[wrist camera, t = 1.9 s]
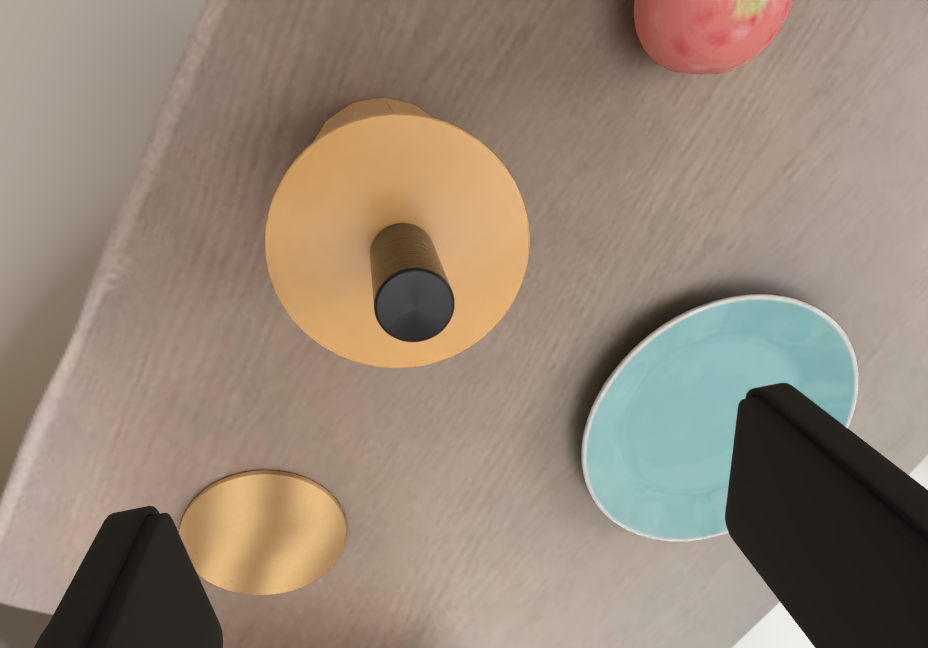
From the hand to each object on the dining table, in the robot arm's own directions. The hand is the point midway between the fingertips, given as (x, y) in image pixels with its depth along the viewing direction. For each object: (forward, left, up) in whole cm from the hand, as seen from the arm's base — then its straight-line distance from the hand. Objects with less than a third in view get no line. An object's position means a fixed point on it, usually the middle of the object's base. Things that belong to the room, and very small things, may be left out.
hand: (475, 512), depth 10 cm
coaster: (-4, -28, -28) cm, 40 cm away
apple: (+14, +13, -28) cm, 34 cm away
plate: (+28, -13, -28) cm, 41 cm away
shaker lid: (0, 0, -14) cm, 14 cm away
